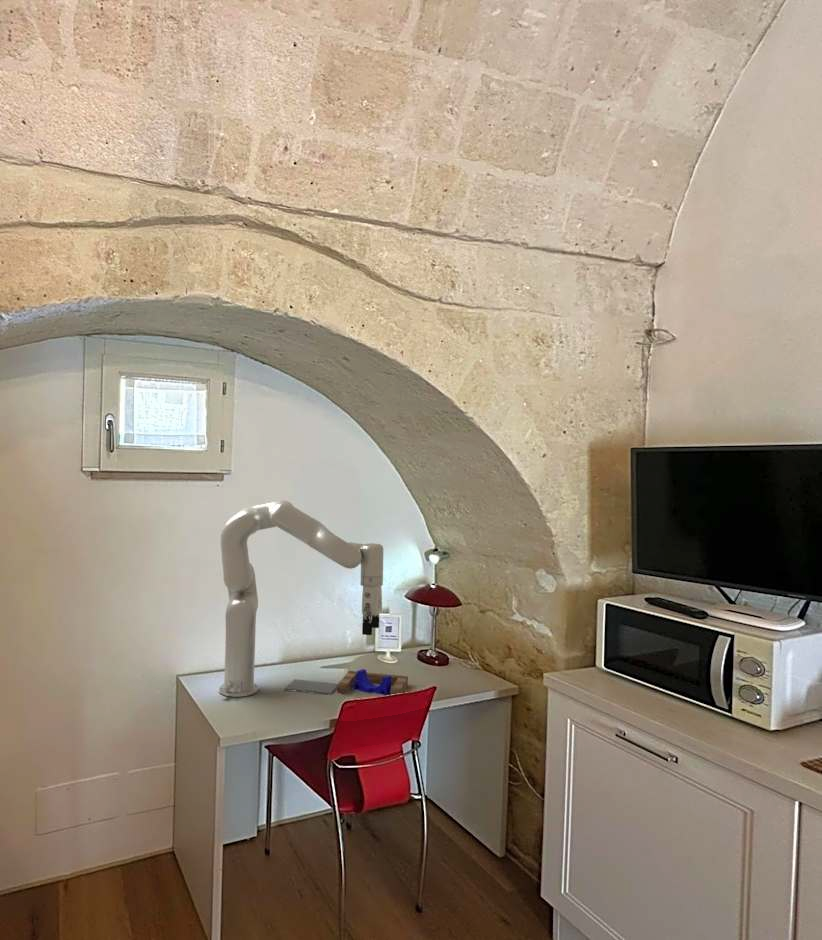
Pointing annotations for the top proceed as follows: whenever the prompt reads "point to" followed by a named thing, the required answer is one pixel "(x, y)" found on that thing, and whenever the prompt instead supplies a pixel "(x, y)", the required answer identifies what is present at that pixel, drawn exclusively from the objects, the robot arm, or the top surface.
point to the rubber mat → (312, 686)
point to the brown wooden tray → (351, 676)
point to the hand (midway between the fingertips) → (370, 631)
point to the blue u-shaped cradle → (367, 686)
